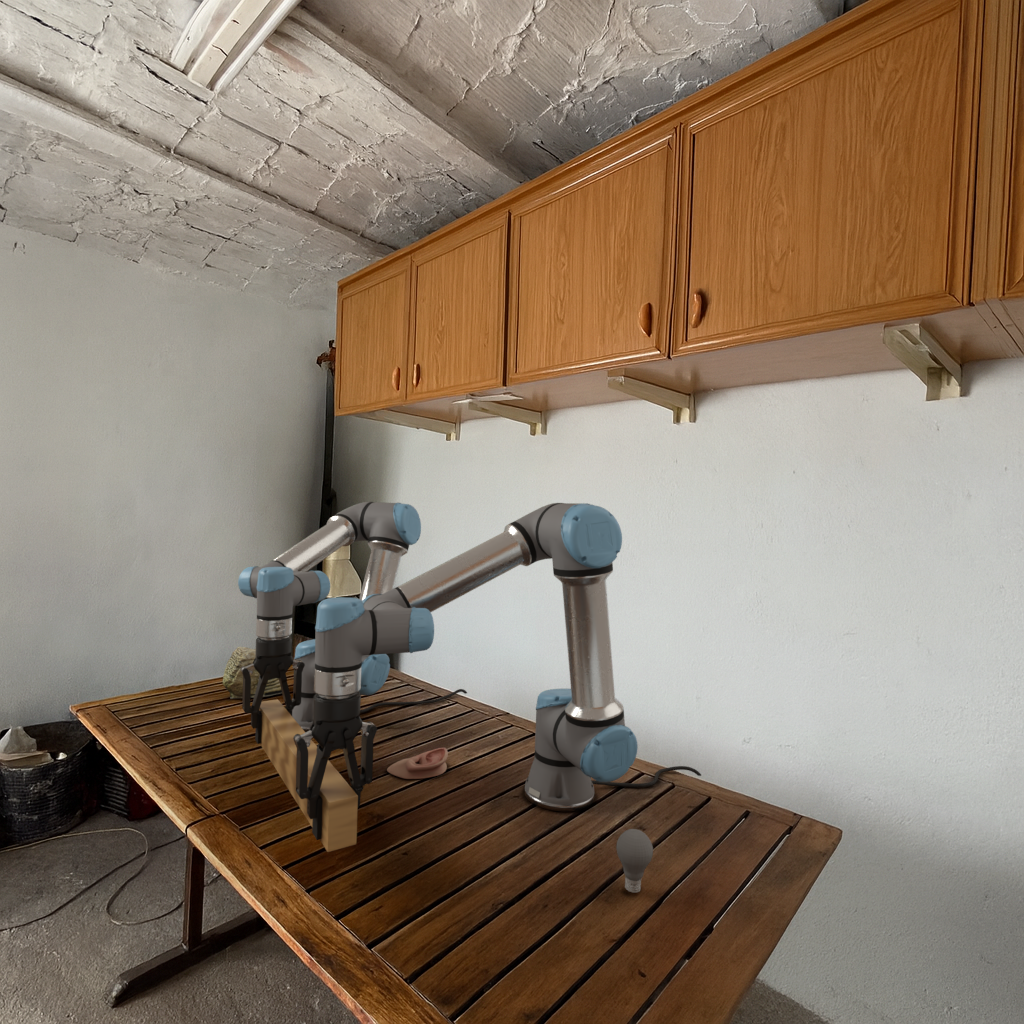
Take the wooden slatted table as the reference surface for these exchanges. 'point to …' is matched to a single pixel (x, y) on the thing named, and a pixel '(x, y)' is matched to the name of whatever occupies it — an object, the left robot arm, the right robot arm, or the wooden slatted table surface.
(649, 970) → the wooden slatted table surface
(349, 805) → the bar
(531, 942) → the wooden slatted table surface
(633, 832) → the light bulb
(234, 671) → the fossil
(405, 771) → the anatomical model
